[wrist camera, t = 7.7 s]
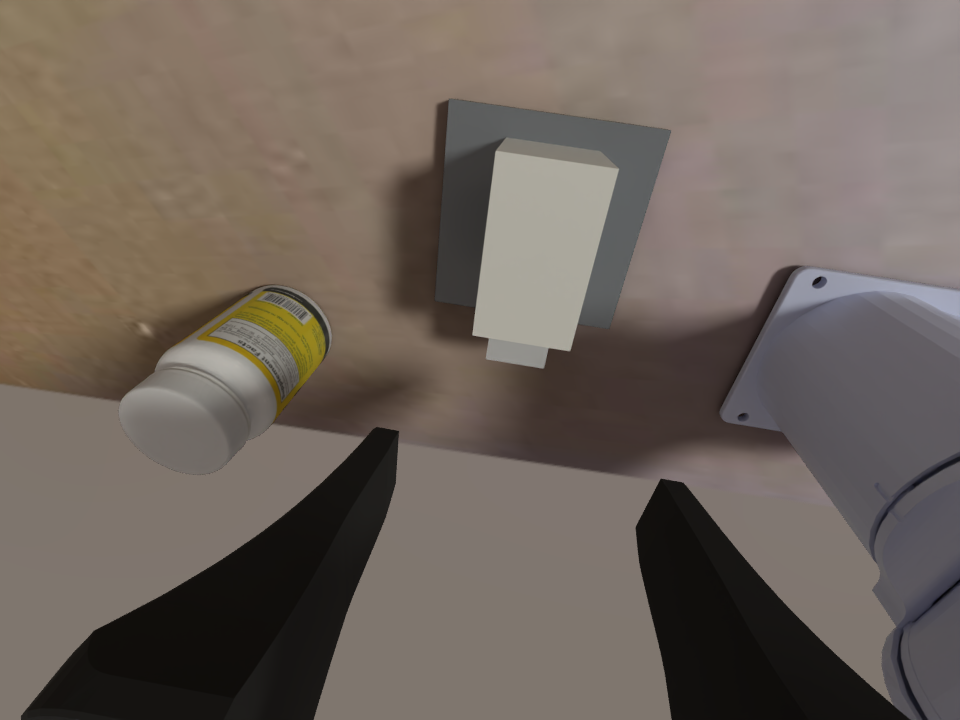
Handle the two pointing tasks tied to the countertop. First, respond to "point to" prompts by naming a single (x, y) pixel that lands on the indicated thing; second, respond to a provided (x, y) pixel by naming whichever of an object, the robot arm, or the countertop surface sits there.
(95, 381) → the countertop surface
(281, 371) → the supplement bottle
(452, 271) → the coaster
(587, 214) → the block
